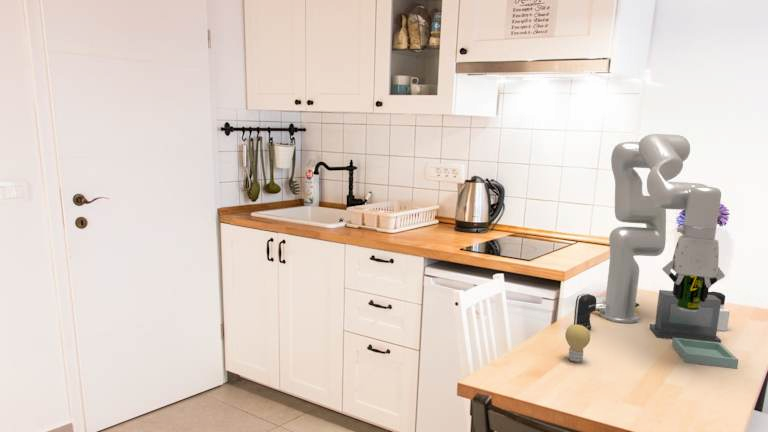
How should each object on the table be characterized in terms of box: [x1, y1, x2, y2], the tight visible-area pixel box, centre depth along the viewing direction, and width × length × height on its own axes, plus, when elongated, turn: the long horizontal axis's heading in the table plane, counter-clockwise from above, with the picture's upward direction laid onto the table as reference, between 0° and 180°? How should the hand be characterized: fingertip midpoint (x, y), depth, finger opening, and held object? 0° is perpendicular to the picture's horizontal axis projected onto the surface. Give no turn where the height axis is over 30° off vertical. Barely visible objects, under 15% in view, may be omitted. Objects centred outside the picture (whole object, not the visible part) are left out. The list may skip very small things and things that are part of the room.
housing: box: [649, 289, 722, 344], centre depth 175 cm, size 18×9×14 cm, turn 78°
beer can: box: [677, 276, 704, 312], centre depth 149 cm, size 5×5×12 cm
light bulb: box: [565, 324, 591, 363], centre depth 151 cm, size 6×6×10 cm
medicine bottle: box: [708, 290, 730, 332], centre depth 185 cm, size 7×7×12 cm
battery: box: [573, 293, 597, 330], centre depth 176 cm, size 7×4×11 cm, turn 129°
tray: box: [671, 338, 739, 369], centre depth 159 cm, size 13×13×3 cm
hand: (689, 298), depth 150 cm, fingers closed on beer can, 5 cm apart
